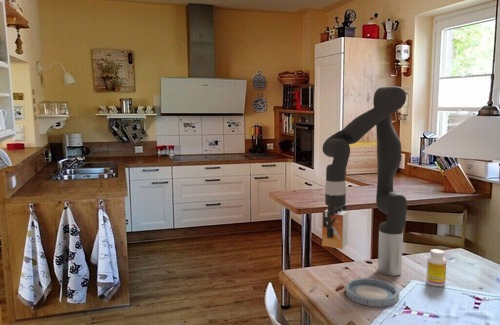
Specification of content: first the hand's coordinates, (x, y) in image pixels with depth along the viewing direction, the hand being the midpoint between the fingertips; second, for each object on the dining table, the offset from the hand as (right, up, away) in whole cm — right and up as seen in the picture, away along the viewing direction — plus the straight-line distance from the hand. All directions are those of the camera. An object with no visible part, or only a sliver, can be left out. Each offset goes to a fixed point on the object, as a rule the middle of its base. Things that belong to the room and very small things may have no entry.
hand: (334, 235), depth 154 cm
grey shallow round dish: (+12, -20, -6) cm, 24 cm away
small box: (0, -4, +1) cm, 4 cm away
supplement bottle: (+39, -19, +3) cm, 44 cm away
